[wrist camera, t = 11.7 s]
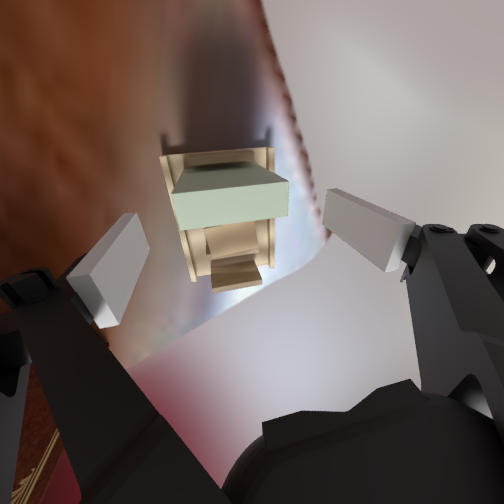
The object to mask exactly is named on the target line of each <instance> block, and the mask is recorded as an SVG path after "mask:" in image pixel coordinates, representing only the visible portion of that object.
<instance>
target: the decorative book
mask: <svg viewBox="0 0 504 504" xmlns="http://www.w3.org/2000/svg"><path fill="white" fill-rule="evenodd" d="M105 345H106V346H107V347H108V348H109V345H108V344H105ZM64 448H65V447H64V445H63V442H62V440H61V437H60V434H59V432H58V429H57V426H56V424H55V421H54V418H53V416H52V413H51V411H50V408H49V405H48V403H47V400H46V397H45V395H44V392H43V390H42V387H41V384H40V382H39V379H38V376H37V374H36V371H35V368H34V366H33V363H31V365H30V372H29V379H28V386H27V393H26V400H25V407H24V414H23V421H22V428H21V435H20V442H19V449H18V456H17V463H16V470H15V477H14V484H13V491H12V498H11V504H40V503H41V501H42V499H43V496H44V494H45V492H46V490H47V487H48V485H49V483H50V480H51V478H52V476H53V474H54V471H55V469H56V467H57V464H58V462H59V460H60V458H61V455H62V453H63V451H64Z"/></svg>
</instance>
